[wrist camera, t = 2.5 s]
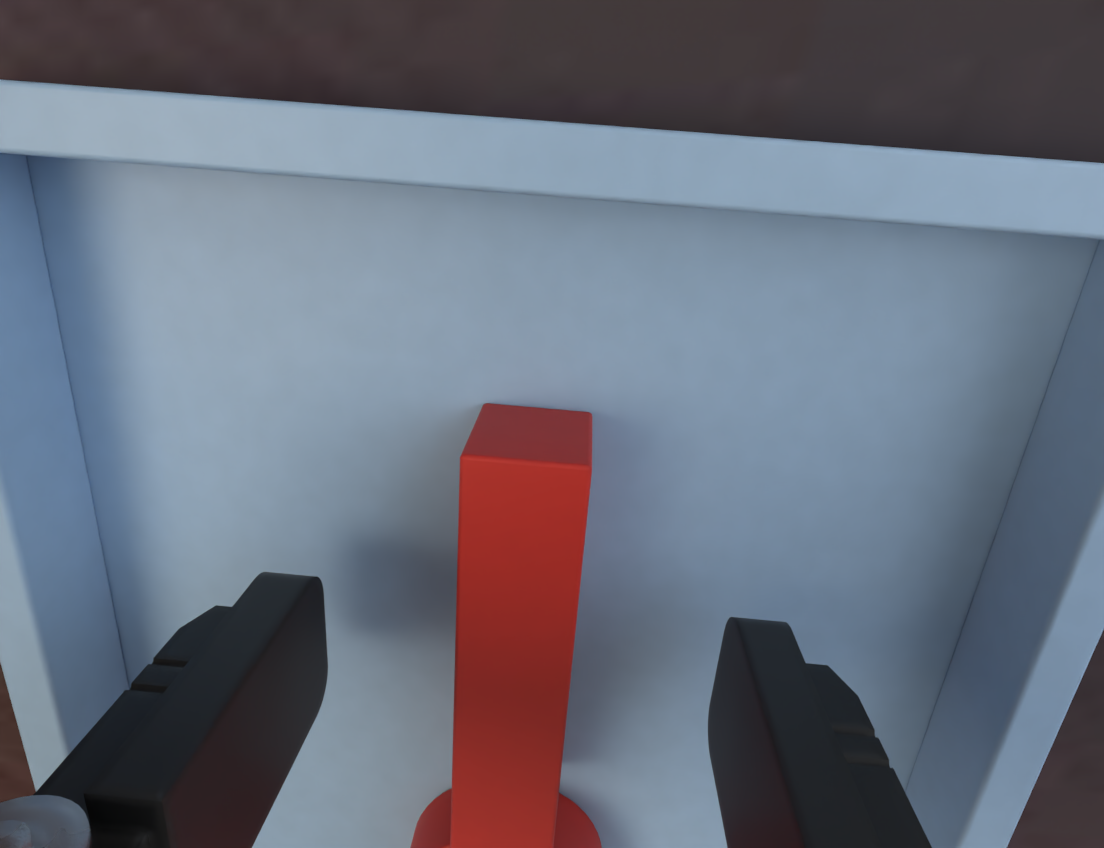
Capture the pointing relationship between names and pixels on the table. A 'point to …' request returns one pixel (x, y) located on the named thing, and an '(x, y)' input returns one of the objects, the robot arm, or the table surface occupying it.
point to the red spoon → (515, 632)
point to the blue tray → (554, 383)
